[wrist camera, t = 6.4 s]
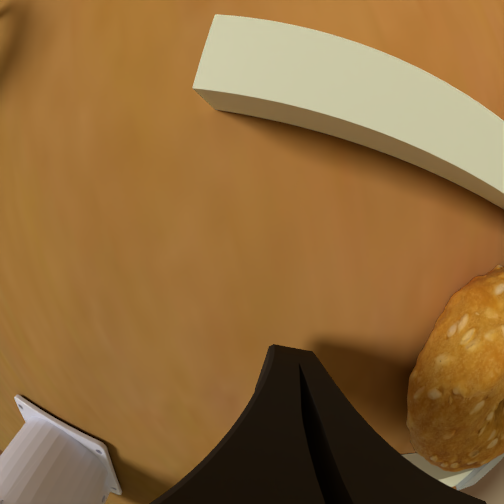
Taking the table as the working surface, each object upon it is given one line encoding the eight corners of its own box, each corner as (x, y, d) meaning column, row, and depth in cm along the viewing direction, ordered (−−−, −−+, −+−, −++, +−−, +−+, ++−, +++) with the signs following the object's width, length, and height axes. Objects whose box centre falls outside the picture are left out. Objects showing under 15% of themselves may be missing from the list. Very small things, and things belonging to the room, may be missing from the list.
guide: (462, 457, 12) (474, 484, 9) (167, 448, 12) (153, 490, 10) (585, 231, 7) (616, 244, 4) (230, 51, 7) (210, 4, 4)
